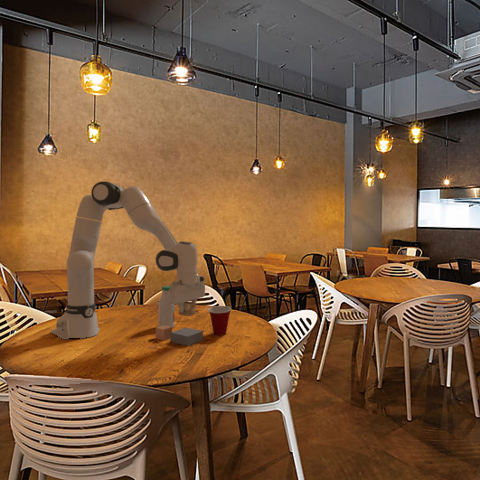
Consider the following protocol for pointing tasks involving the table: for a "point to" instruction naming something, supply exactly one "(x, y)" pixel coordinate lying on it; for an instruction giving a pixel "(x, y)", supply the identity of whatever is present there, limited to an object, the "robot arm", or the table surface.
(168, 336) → the terracotta cube
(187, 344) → the slate base
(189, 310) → the maple cube
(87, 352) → the table surface
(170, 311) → the milk bottle
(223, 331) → the plastic cup
